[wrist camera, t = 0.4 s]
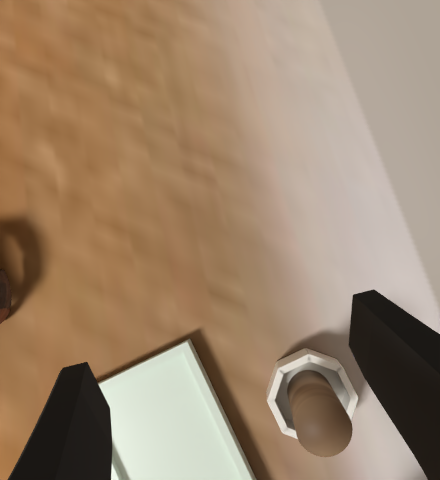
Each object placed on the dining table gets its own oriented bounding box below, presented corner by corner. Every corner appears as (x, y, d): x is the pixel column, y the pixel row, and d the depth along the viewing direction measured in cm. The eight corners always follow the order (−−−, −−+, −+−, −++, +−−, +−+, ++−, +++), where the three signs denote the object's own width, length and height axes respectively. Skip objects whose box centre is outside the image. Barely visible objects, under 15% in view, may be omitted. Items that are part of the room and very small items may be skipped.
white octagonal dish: (362, 410, 37) (370, 421, 34) (291, 442, 37) (293, 456, 35) (326, 337, 37) (330, 343, 35) (256, 370, 38) (256, 378, 35)
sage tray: (274, 518, 37) (275, 528, 35) (158, 569, 38) (154, 582, 36) (189, 338, 38) (187, 341, 37) (80, 391, 39) (73, 396, 38)
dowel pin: (339, 403, 36) (362, 443, 28) (299, 421, 37) (311, 466, 29) (319, 362, 37) (336, 390, 29) (279, 381, 37) (285, 413, 29)
